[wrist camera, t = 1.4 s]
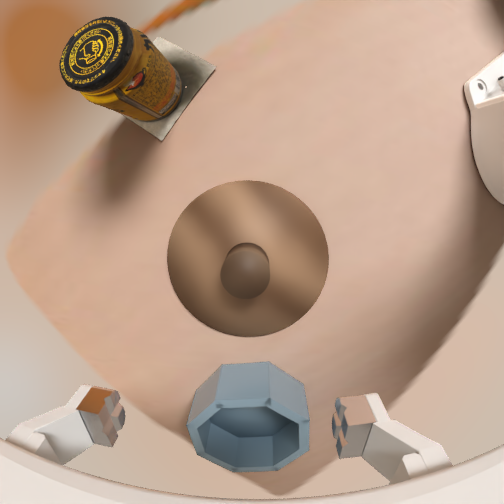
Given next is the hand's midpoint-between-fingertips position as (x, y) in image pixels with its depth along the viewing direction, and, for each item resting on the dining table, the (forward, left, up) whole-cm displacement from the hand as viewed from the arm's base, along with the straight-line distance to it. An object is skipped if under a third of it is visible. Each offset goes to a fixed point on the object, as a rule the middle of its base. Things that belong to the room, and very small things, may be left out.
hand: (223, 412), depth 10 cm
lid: (0, 0, -20) cm, 20 cm away
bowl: (+13, +11, -19) cm, 26 cm away
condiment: (-8, -17, -20) cm, 27 cm away
